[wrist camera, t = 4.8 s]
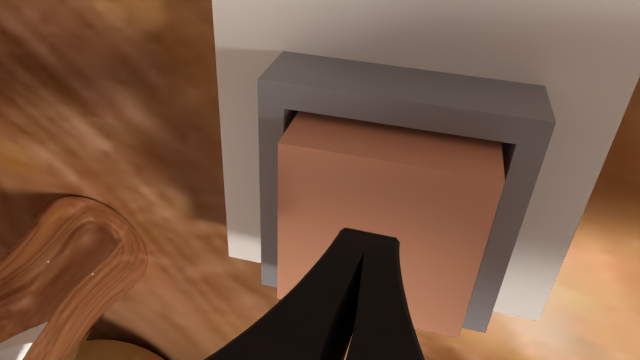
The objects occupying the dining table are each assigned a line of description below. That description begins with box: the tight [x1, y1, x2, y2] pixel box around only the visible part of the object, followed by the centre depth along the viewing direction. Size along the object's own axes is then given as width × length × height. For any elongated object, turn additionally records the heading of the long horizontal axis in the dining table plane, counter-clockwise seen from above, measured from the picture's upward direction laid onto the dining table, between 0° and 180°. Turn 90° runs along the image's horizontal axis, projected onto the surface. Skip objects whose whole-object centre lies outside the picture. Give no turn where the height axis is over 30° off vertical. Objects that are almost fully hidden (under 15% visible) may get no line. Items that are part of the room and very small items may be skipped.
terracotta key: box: [277, 111, 505, 338], centre depth 16 cm, size 6×6×3 cm
